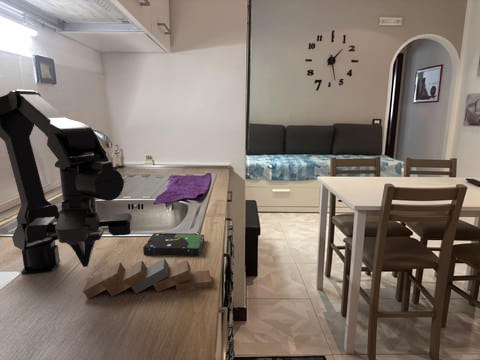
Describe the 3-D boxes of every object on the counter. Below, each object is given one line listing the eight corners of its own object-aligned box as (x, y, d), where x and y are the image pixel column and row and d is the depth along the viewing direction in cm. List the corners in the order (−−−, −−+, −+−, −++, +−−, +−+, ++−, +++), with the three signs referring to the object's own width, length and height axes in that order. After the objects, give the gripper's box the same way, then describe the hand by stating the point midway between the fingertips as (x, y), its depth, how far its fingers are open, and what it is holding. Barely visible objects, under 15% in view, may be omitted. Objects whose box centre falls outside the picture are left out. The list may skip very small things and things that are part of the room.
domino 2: (106, 289, 68) (140, 271, 68) (110, 277, 72) (142, 260, 73) (112, 296, 68) (145, 278, 69) (115, 284, 73) (146, 267, 73)
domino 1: (82, 291, 67) (117, 273, 67) (88, 278, 71) (120, 262, 72) (88, 299, 67) (122, 280, 68) (93, 286, 72) (125, 269, 73)
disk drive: (143, 257, 87) (200, 257, 87) (142, 247, 86) (200, 247, 86) (153, 241, 97) (204, 241, 97) (153, 232, 96) (204, 232, 96)
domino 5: (175, 284, 70) (211, 281, 72) (175, 272, 75) (209, 270, 77) (176, 293, 71) (211, 289, 72) (176, 281, 76) (209, 278, 77)
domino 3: (130, 286, 69) (163, 268, 69) (133, 274, 73) (164, 258, 74) (135, 293, 69) (168, 276, 70) (138, 281, 74) (168, 265, 74)
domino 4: (153, 284, 69) (187, 270, 70) (155, 272, 74) (187, 259, 75) (157, 292, 70) (191, 278, 71) (158, 280, 75) (190, 267, 75)
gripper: (5, 206, 55) (18, 292, 59) (124, 201, 59) (129, 281, 62) (31, 189, 66) (41, 263, 69) (130, 186, 70) (135, 255, 73)
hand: (86, 265), depth 68 cm, fingers closed
